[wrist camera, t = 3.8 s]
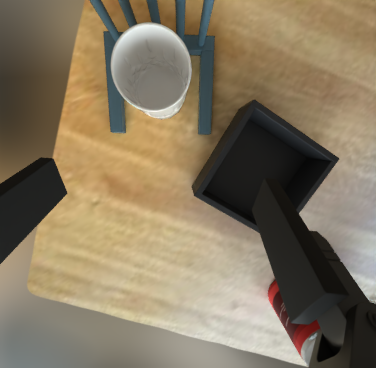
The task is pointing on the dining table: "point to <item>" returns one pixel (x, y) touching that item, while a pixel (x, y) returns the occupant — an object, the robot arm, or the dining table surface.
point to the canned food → (293, 325)
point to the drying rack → (193, 43)
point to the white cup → (152, 69)
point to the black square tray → (261, 164)
